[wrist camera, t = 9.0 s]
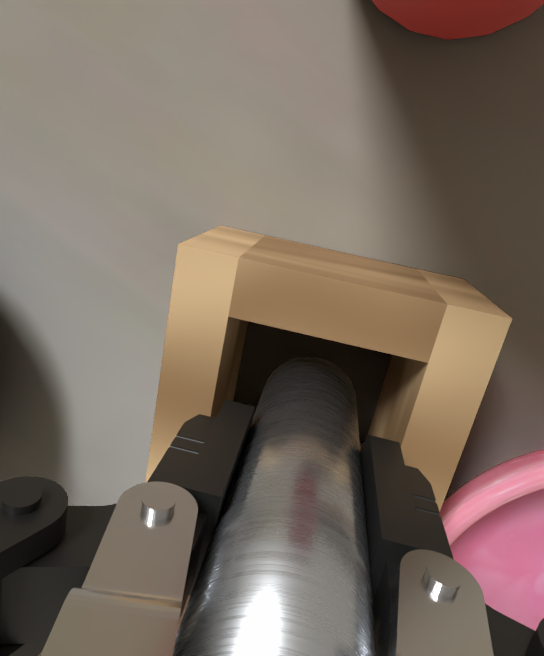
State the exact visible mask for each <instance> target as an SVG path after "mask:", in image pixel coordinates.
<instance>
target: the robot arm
mask: <svg viewBox="0 0 544 656" xmlns="http://www.w3.org/2000/svg"><path fill="white" fill-rule="evenodd" d="M254 410H255V407H254V406H250V405H246V404H242V403H238V402H234V401H230V400H225V402H224V404H223V406H222V408H221V410H220V412H219V413H218V415H217V417H216V418H214V417H209V416H205V415H201V414H198V415H197V416H195V417H193V418H191V419H189V420H188V421H186V422H184V424H183V425H182V427H181V428H180V430H179V432H178V433H177V435H176V437H175V438H174V440H173V441H172V443H171V444H170V448H168V449H167V451H166V452H165V454H164V456H163V457H162V459H161V461H160V462H159V464H158V465H157V467H156V469H155V470H154V472H153V473H152V475H151V477H150V478H149V480H148V481H147V482H146V483H141V484H138V485H136V486H133V487H131V488H130V489H128V490H127V491H125V492H124V493H123V494H122V495H121V497H120V498H119V500H118V502H117V504H113V505H107V506H68V496H67V493H66V492H65V490H64V489H63V488H62V487H61V486H60V485H59V484H57V483H56V482H53V481H51V480H48V479H44V478H39V477H20V478H14V479H9V480H6V481H3V482H0V656H37V655H39V654H40V653H41V652H42V653H41V655H40V656H173V651H174V646H175V640H176V634H177V629H178V623H179V619H180V617H181V615H182V613H183V610H184V607H185V604H186V602H187V599H188V596H189V595H190V596H191V593H192V590H193V587H194V584H195V582H196V579H197V576H198V573H199V570H200V567H201V565H202V562H203V559H204V556H205V553H206V550H207V548H208V545H209V542H210V540H211V538H212V536H213V534H214V532H215V530H216V527H217V524H218V521H219V518H220V515H221V512H222V509H223V506H224V504H225V501H226V498H227V495H228V492H229V489H230V486H231V483H232V481H233V478H234V475H235V472H236V469H237V466H238V463H239V460H240V457H241V455H242V452H243V449H244V446H245V443H246V440H247V437H248V434H249V431H250V429H251V425H252V420H253V415H254ZM361 466H362V478H363V491H364V503H365V516H366V528H367V540H368V553H369V565H370V578H371V590H372V602H373V615H374V627H375V640H376V652H377V656H544V618H543V619H542V620H541V621H540V623H539V625H538V627H537V629H536V631H535V630H533V629H531V628H529V627H527V626H525V625H523V624H521V623H519V622H517V621H515V620H513V619H511V618H509V617H507V616H505V615H503V614H502V613H500V612H498V611H496V610H494V609H493V608H491V607H490V606H488V605H487V604H486V603H485V600H484V595H483V592H482V589H481V587H480V585H479V583H478V582H477V580H476V579H475V578H474V577H473V575H472V574H471V573H470V572H469V571H468V570H467V569H466V568H465V567H463V566H462V565H461V564H460V563H458V562H457V561H455V560H454V558H453V555H452V552H451V549H450V545H449V542H448V539H447V535H446V532H445V529H444V525H443V522H442V519H441V516H439V514H440V512H439V509H438V505H437V503H435V501H436V499H435V496H434V492H433V489H432V486H431V483H430V482H429V481H428V480H427V479H426V477H425V476H424V475H423V474H422V473H421V471H420V470H419V469H418V468H414V467H410V466H406V465H405V464H404V459H403V455H402V451H401V446H400V443H399V442H396V441H392V440H388V439H384V438H380V437H376V436H372V435H367V437H366V439H365V441H364V444H363V447H362V451H361Z"/></svg>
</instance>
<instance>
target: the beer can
mask: <svg viewBox="0 0 544 656" xmlns="http://www.w3.org/2000/svg"><path fill="white" fill-rule="evenodd" d="M372 1H373V3H374V4H375V6H376V7H377V8H378V10H380V11H381V12H383V13H384V14H386V15H387V16H389V17H390V18H392V19H393V20H395V21H396V22H398V23H399V24H401V25H402V26H404V27H405V28H407V29H408V30H410V31H413V32H417V33H421V34H426V35H430V36H434V37H439V38H443V39H447V40H450V39H458V38H466V37H474V36H483V35H489V34H491V33H493V32H496V31H498V30H500V29H502V28H504V27H506V26H509V25H511V24H513V23H515V22H517V21H519V20H522V19H524V18H526V17H528V16H530V15H531V14H532V13H533V12H534V11H536V10H537V9H538V8H539V7H540V6H542V5H543V4H544V0H372Z"/></svg>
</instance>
